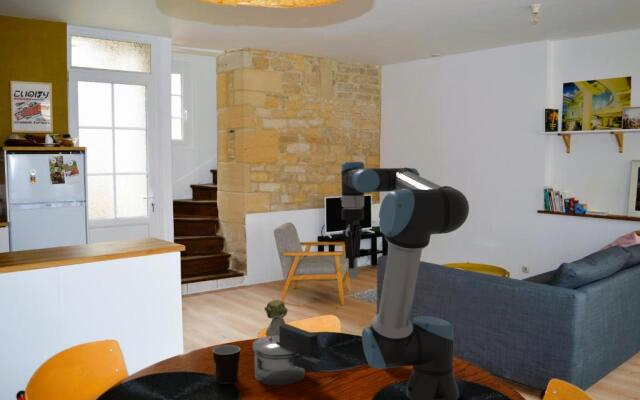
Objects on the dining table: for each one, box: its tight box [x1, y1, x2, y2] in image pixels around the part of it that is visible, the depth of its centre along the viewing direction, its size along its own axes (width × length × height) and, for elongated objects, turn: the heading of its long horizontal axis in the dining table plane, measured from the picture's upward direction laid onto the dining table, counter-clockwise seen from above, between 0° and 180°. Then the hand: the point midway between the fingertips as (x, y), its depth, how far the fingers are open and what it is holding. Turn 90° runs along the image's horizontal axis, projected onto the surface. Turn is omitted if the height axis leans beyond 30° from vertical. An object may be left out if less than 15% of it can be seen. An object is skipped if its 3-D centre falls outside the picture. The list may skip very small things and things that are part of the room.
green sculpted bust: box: [264, 299, 289, 337], centre depth 212 cm, size 14×20×16 cm
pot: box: [253, 350, 323, 386], centre depth 187 cm, size 28×17×9 cm, turn 48°
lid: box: [252, 323, 318, 358], centre depth 185 cm, size 26×17×8 cm
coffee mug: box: [212, 344, 241, 384], centre depth 186 cm, size 12×9×10 cm
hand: (352, 277), depth 198 cm, fingers closed
